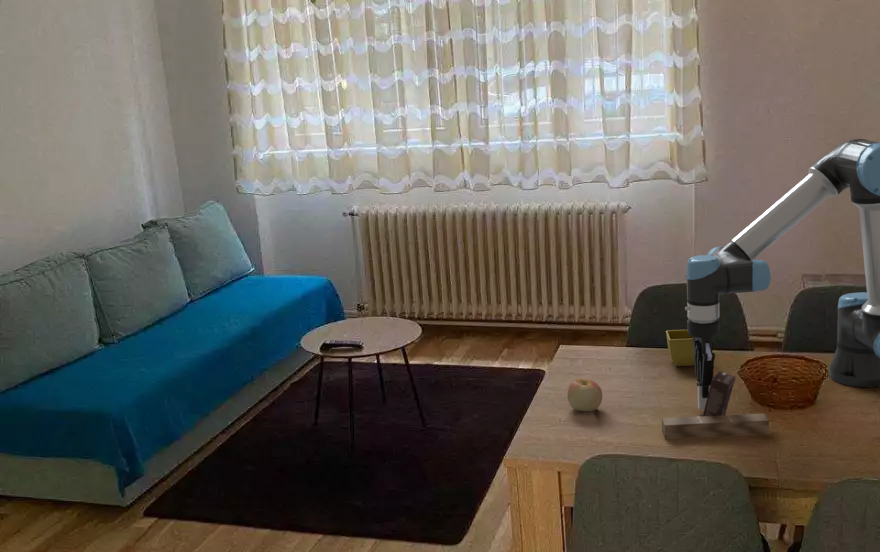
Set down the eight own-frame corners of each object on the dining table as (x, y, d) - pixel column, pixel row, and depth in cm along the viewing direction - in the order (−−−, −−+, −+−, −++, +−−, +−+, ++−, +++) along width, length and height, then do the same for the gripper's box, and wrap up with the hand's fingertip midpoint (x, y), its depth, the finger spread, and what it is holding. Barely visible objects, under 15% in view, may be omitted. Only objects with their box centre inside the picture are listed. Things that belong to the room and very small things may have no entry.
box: (718, 429, 208) (729, 384, 204) (700, 422, 211) (710, 378, 206) (726, 419, 213) (736, 376, 209) (708, 413, 215) (717, 370, 211)
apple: (571, 402, 231) (570, 374, 229) (605, 404, 228) (604, 376, 226) (565, 416, 223) (563, 387, 221) (599, 418, 220) (598, 388, 218)
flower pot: (666, 358, 256) (665, 329, 254) (696, 357, 255) (696, 328, 253) (669, 369, 248) (669, 339, 246) (701, 368, 247) (700, 338, 244)
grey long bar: (763, 426, 207) (763, 413, 206) (768, 434, 203) (768, 419, 202) (662, 431, 209) (661, 417, 208) (665, 438, 205) (664, 424, 205)
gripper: (681, 311, 218) (683, 398, 224) (693, 327, 206) (695, 419, 212) (712, 309, 218) (712, 397, 224) (725, 325, 205) (726, 417, 211)
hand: (704, 407), depth 218 cm, fingers closed
